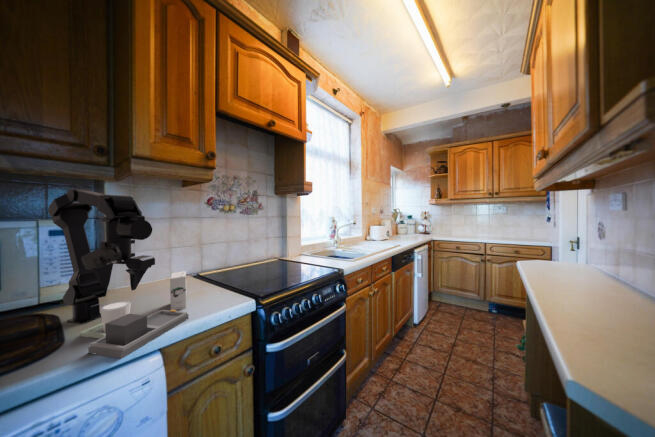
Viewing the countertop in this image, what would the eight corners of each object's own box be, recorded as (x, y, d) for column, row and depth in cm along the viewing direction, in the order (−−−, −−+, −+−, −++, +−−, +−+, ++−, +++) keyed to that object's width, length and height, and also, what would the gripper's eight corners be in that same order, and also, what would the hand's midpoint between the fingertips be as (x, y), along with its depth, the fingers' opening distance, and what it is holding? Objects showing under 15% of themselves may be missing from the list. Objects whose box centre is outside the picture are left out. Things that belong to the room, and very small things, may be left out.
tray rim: (79, 335, 66) (79, 332, 66) (120, 318, 77) (120, 315, 77) (111, 339, 64) (111, 336, 64) (148, 321, 75) (148, 318, 75)
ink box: (171, 302, 90) (170, 272, 89) (186, 300, 92) (186, 270, 92) (170, 311, 83) (169, 278, 82) (186, 308, 85) (186, 275, 85)
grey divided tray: (88, 353, 58) (87, 327, 58) (162, 315, 79) (162, 296, 79) (121, 358, 56) (120, 331, 56) (188, 318, 77) (188, 298, 77)
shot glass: (135, 326, 72) (134, 303, 72) (105, 336, 66) (105, 312, 66) (125, 320, 75) (125, 299, 75) (97, 330, 70) (96, 306, 69)
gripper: (57, 239, 63) (58, 297, 63) (121, 242, 61) (122, 301, 62) (101, 235, 74) (101, 284, 74) (156, 237, 72) (156, 287, 73)
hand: (119, 289), depth 71 cm, fingers open, 9 cm apart
